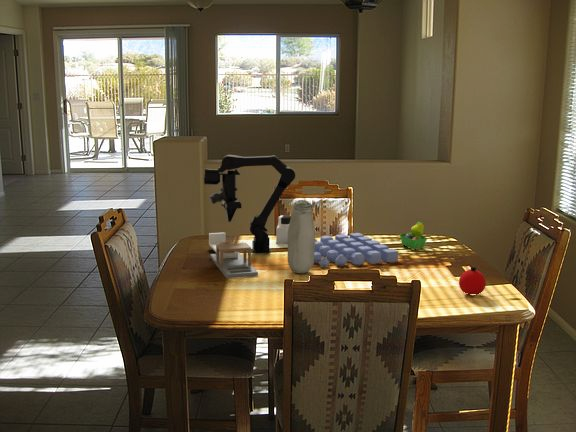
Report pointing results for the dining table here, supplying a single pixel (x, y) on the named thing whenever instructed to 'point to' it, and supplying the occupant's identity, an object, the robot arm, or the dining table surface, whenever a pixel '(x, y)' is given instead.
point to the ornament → (472, 281)
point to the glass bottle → (301, 237)
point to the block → (227, 243)
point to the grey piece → (234, 261)
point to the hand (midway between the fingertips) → (229, 221)
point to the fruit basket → (414, 237)
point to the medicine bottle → (282, 229)
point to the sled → (217, 239)
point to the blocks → (352, 250)
